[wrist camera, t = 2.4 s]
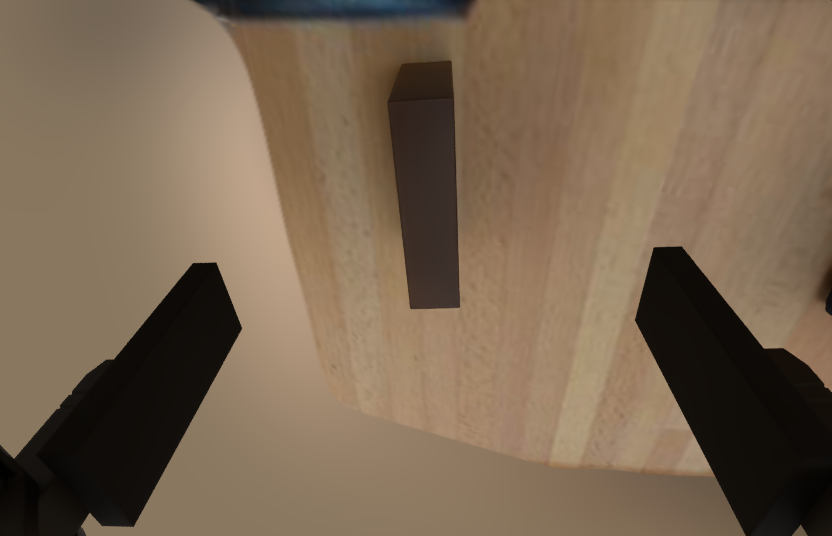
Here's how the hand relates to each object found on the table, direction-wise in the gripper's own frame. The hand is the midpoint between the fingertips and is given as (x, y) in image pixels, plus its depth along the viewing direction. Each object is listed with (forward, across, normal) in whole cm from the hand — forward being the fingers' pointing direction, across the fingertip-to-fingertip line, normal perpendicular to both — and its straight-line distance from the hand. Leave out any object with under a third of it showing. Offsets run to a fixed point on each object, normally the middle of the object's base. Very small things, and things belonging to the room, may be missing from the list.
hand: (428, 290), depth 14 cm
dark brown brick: (+10, 0, 0) cm, 10 cm away
